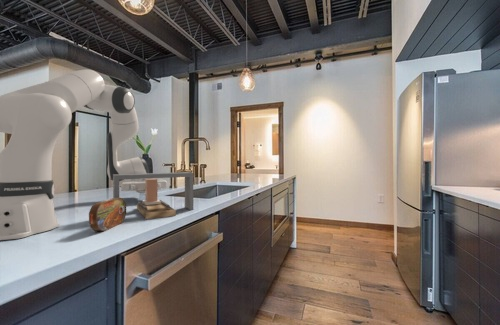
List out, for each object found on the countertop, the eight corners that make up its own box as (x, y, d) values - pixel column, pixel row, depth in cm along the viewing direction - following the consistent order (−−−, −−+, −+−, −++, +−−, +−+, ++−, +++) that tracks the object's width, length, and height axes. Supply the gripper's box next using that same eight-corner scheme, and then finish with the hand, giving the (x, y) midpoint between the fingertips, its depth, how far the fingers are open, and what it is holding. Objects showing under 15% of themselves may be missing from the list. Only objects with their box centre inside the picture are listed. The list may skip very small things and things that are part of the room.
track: (146, 219, 81) (146, 211, 81) (137, 208, 99) (136, 201, 99) (175, 215, 86) (175, 207, 86) (161, 206, 104) (161, 199, 104)
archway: (114, 219, 82) (114, 175, 81) (113, 215, 87) (113, 174, 87) (193, 209, 97) (193, 172, 97) (188, 207, 102) (188, 172, 102)
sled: (145, 205, 94) (144, 180, 94) (142, 202, 100) (142, 178, 100) (160, 203, 97) (160, 179, 97) (157, 201, 103) (157, 178, 103)
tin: (97, 234, 64) (97, 204, 64) (86, 234, 65) (86, 204, 64) (127, 220, 80) (127, 195, 79) (118, 220, 80) (117, 195, 80)
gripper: (118, 179, 114) (121, 181, 102) (163, 177, 125) (170, 178, 113) (119, 192, 114) (121, 195, 102) (163, 189, 125) (170, 192, 113)
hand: (147, 187), depth 108 cm, fingers open, 8 cm apart
